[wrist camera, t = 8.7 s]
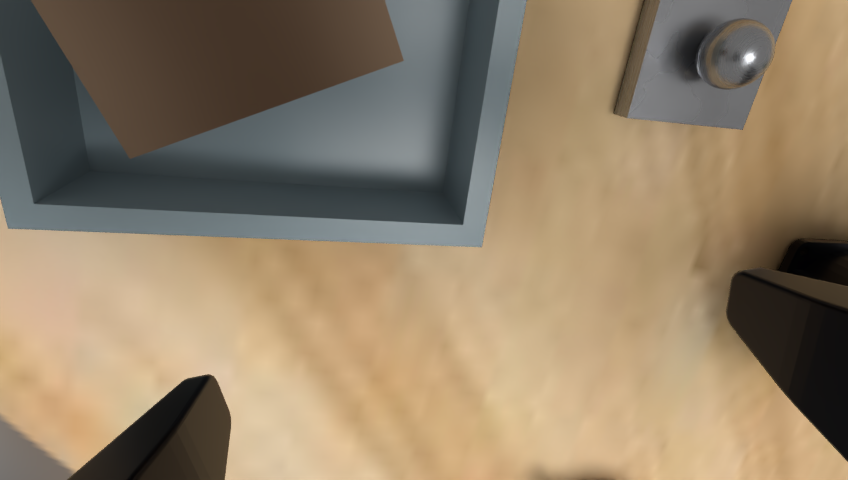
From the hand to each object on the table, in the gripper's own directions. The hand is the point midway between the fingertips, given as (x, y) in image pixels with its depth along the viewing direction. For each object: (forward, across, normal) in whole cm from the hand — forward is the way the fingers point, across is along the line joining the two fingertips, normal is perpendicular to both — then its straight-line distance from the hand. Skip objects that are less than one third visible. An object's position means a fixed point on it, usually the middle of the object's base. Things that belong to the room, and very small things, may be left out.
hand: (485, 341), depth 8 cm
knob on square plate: (+12, -12, -2) cm, 17 cm away
